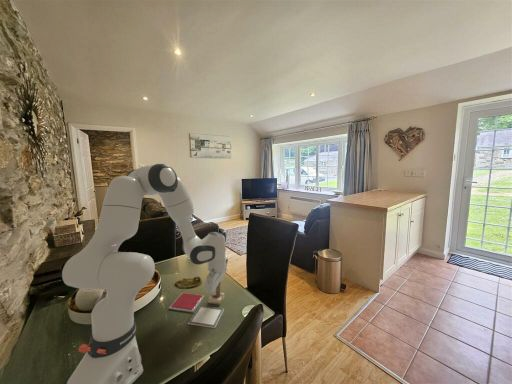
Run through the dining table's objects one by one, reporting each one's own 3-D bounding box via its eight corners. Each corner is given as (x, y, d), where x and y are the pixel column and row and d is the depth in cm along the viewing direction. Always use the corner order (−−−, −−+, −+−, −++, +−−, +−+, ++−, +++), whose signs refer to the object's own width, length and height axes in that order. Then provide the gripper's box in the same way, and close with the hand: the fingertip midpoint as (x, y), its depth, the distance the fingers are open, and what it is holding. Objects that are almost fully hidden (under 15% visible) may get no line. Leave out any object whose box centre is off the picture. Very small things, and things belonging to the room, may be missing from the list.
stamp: (220, 304, 103) (220, 287, 102) (208, 303, 104) (208, 286, 103) (224, 297, 109) (224, 281, 108) (213, 296, 110) (213, 279, 109)
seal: (172, 291, 115) (201, 289, 118) (172, 283, 114) (201, 282, 116) (176, 280, 124) (203, 279, 127) (176, 273, 123) (202, 272, 125)
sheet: (214, 328, 88) (214, 327, 88) (187, 323, 90) (187, 322, 90) (224, 309, 100) (224, 308, 100) (200, 306, 102) (200, 305, 102)
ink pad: (193, 312, 97) (193, 310, 97) (169, 309, 99) (169, 306, 99) (204, 297, 109) (204, 294, 109) (182, 294, 111) (182, 292, 111)
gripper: (214, 275, 94) (214, 305, 95) (228, 257, 114) (228, 281, 115) (201, 274, 95) (201, 303, 96) (217, 255, 115) (217, 280, 116)
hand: (216, 291), depth 106 cm, fingers open, 4 cm apart
